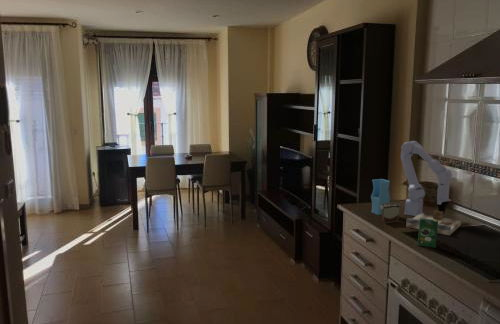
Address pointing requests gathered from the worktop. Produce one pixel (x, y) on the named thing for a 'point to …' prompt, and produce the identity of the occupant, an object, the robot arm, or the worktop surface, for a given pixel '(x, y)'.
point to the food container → (390, 212)
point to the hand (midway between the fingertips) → (441, 214)
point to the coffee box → (427, 232)
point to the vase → (379, 195)
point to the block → (438, 215)
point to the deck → (444, 224)
